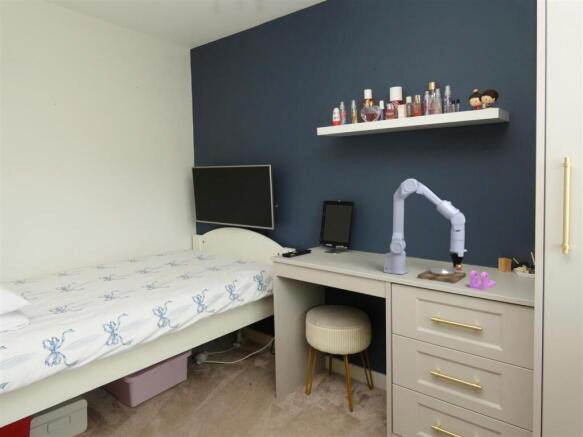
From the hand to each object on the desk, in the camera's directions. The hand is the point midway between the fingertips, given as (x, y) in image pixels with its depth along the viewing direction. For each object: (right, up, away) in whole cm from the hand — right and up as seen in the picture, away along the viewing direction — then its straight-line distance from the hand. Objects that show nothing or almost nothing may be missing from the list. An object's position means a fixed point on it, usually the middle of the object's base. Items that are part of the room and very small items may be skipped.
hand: (456, 269), depth 191 cm
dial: (-5, -1, -1) cm, 6 cm away
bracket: (+4, -5, -17) cm, 19 cm away
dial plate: (-7, -3, -1) cm, 8 cm away
